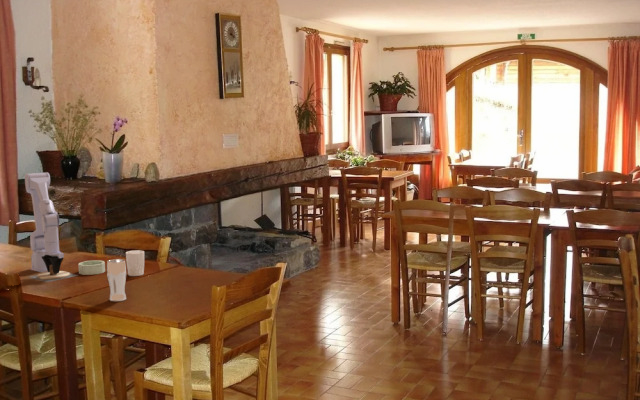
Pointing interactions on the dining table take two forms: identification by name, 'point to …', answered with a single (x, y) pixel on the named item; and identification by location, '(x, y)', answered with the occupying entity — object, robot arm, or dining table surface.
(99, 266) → the bowl
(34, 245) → the robot arm
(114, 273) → the beer glass
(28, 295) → the dining table surface
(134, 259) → the white cup
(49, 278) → the lid
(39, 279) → the mat
